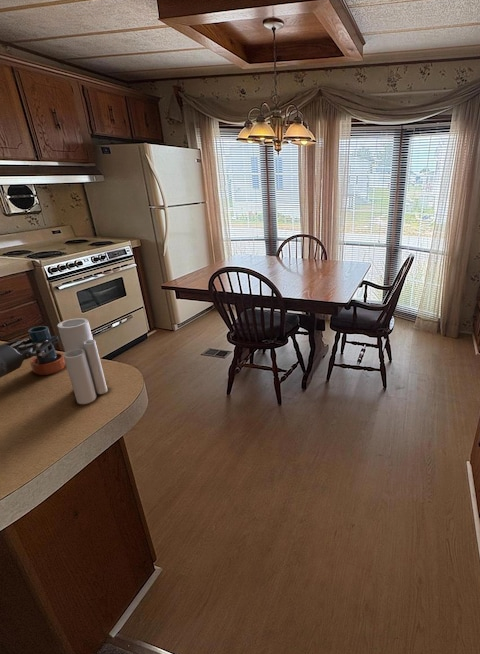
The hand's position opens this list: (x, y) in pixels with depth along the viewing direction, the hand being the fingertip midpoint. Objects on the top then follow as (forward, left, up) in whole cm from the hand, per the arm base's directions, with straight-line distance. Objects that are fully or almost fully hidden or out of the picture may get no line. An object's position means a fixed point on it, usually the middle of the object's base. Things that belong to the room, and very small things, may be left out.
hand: (49, 337), depth 104 cm
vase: (+13, -20, -10) cm, 26 cm away
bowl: (-1, -2, -9) cm, 10 cm away
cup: (-1, -2, -6) cm, 7 cm away
